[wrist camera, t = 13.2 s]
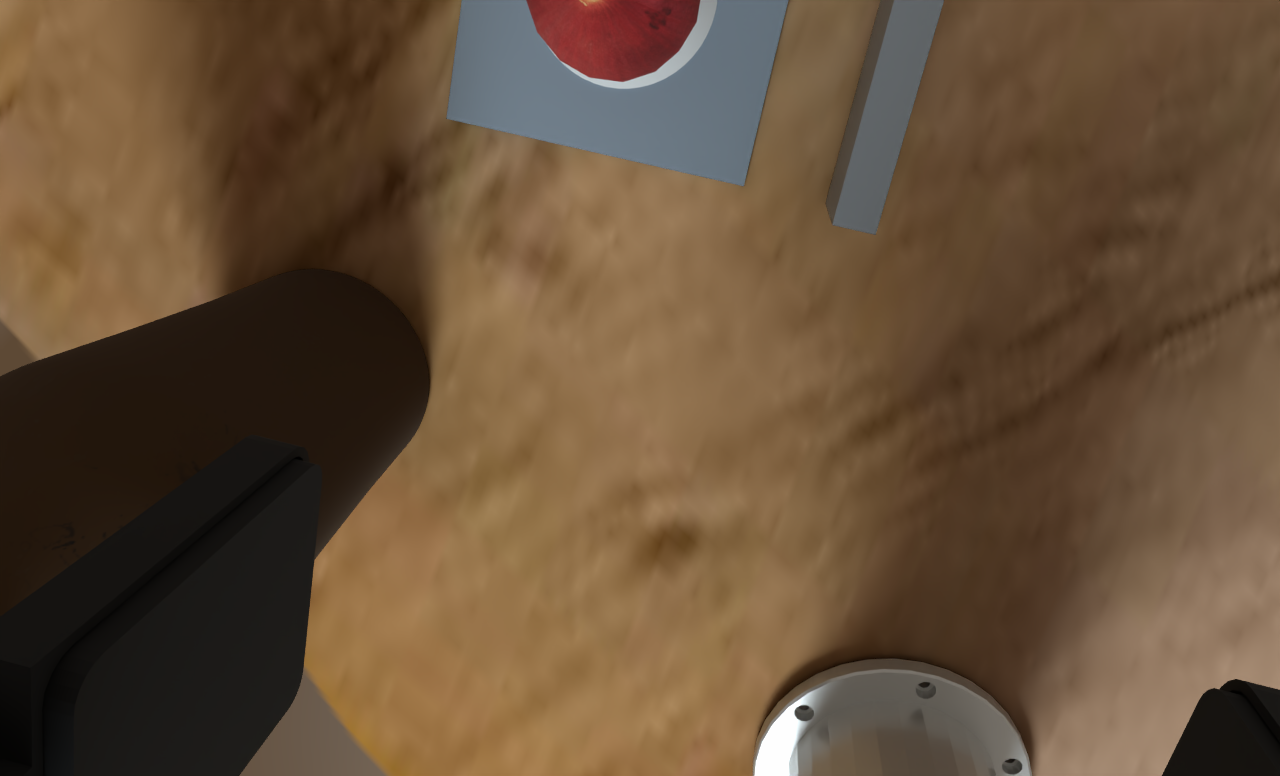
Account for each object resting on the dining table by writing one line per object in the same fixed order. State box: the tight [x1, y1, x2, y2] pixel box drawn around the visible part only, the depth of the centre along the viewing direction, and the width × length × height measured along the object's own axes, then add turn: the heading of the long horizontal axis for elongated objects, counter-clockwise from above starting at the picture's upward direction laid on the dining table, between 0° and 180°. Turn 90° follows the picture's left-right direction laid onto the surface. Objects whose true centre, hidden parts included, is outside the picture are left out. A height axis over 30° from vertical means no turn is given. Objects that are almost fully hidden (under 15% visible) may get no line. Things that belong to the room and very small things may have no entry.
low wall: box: [826, 0, 944, 235], centre depth 34 cm, size 12×2×5 cm, turn 168°
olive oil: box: [0, 269, 429, 616], centre depth 32 cm, size 11×11×25 cm
